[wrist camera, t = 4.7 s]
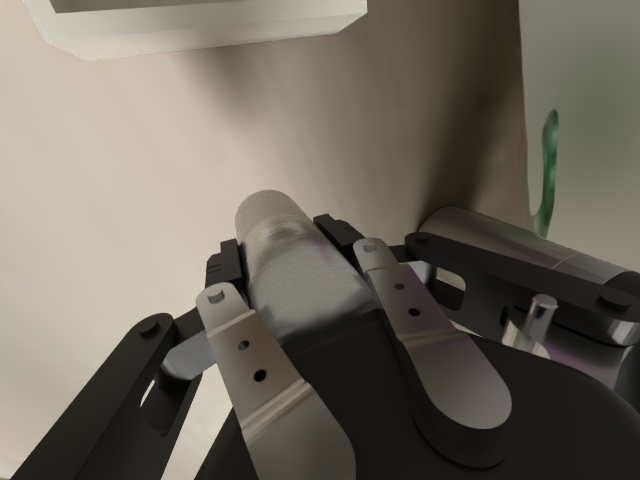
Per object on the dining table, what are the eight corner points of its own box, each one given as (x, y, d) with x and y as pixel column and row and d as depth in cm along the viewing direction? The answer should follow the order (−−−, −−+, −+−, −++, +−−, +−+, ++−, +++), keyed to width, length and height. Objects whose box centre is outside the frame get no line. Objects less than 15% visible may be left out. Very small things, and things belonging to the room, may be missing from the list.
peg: (294, 183, 15) (389, 267, 7) (304, 240, 17) (389, 362, 9) (226, 199, 14) (238, 319, 6) (245, 258, 16) (276, 414, 8)
